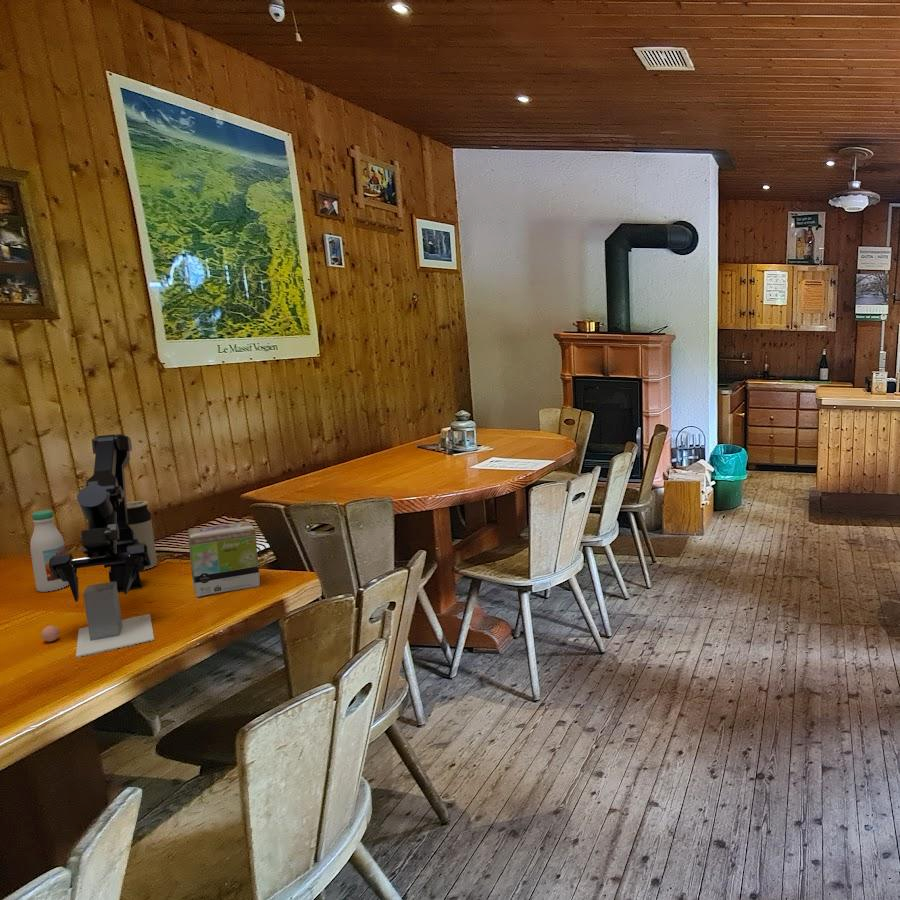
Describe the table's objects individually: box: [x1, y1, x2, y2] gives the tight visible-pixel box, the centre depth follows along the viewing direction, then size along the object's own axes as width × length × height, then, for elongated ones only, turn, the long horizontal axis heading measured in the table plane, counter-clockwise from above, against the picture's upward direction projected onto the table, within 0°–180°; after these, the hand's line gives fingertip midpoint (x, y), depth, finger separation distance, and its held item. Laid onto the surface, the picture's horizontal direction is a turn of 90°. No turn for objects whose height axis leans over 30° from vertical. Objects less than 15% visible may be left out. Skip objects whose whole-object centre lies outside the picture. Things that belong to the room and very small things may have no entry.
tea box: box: [187, 520, 261, 598], centre depth 171 cm, size 15×10×15 cm
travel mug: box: [127, 500, 158, 571], centre depth 191 cm, size 8×8×18 cm
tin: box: [82, 581, 123, 641], centre depth 145 cm, size 5×5×10 cm
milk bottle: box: [29, 509, 70, 593], centre depth 179 cm, size 8×8×20 cm
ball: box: [40, 625, 60, 643], centre depth 144 cm, size 3×3×3 cm
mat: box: [75, 613, 155, 659], centre depth 145 cm, size 14×16×1 cm
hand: (101, 597), depth 144 cm, fingers open, 9 cm apart
